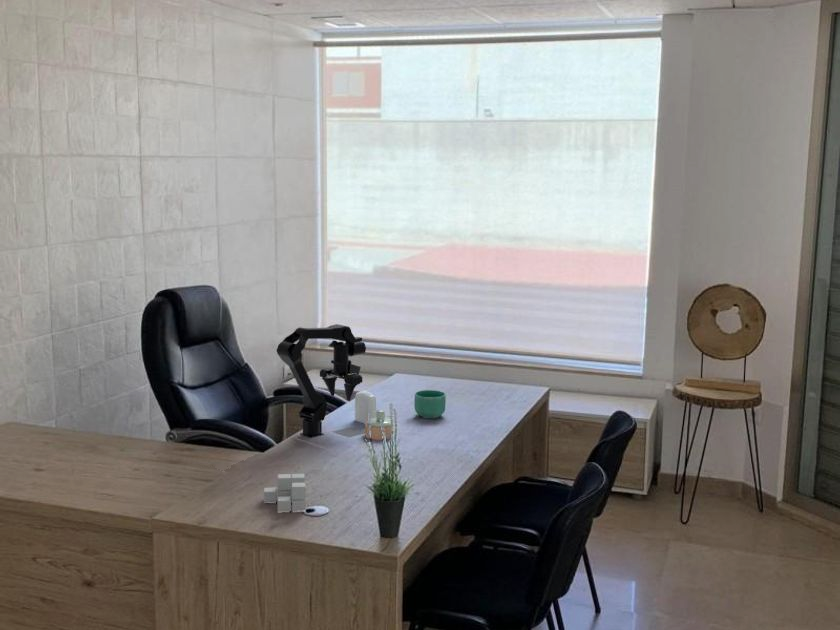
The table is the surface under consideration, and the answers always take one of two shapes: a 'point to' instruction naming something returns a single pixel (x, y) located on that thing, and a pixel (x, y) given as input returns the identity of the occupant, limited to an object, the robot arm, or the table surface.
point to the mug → (430, 403)
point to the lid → (376, 421)
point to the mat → (349, 431)
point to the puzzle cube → (288, 492)
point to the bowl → (377, 432)
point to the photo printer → (364, 406)
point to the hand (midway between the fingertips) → (340, 398)
